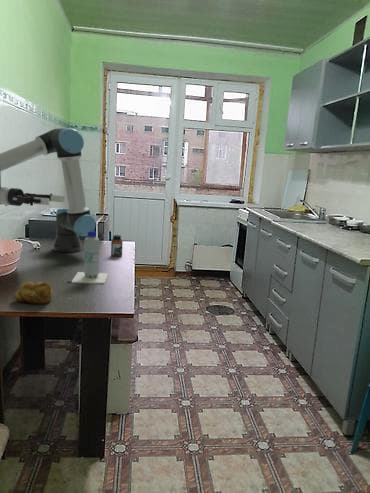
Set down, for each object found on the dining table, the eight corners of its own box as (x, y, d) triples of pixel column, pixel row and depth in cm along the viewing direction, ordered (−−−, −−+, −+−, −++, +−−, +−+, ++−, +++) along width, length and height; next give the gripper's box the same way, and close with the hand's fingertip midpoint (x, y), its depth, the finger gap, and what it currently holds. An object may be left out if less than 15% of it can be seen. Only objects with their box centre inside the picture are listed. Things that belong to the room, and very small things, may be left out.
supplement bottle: (112, 254, 212) (112, 233, 210) (123, 254, 212) (123, 234, 210) (109, 256, 206) (110, 235, 204) (121, 257, 206) (121, 236, 204)
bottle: (93, 279, 163) (94, 232, 159) (80, 277, 165) (80, 231, 161) (102, 275, 169) (103, 230, 165) (89, 273, 172) (89, 228, 168)
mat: (74, 273, 173) (74, 271, 172) (108, 274, 174) (108, 272, 174) (67, 282, 159) (67, 281, 159) (104, 283, 160) (104, 282, 160)
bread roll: (10, 305, 132) (9, 282, 130) (20, 295, 141) (20, 274, 140) (48, 306, 133) (48, 284, 131) (56, 297, 142) (56, 276, 141)
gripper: (28, 202, 182) (70, 206, 178) (-7, 208, 158) (41, 212, 154) (27, 186, 180) (70, 190, 177) (-8, 189, 156) (41, 193, 153)
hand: (57, 200), depth 166 cm, fingers open, 13 cm apart
